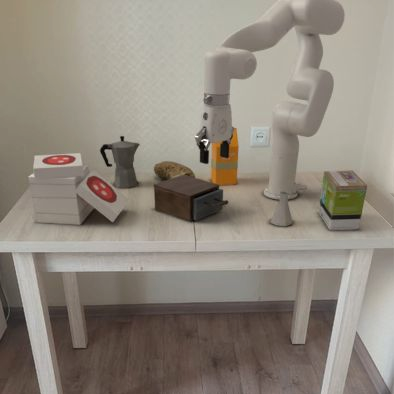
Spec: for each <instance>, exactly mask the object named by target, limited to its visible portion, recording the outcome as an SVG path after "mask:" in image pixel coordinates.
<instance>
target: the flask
mask: <svg viewBox="0 0 394 394" xmlns="http://www.w3.org/2000/svg"><path fill="white" fill-rule="evenodd" d="M289 193H290V192H287V191H281V192H280V200H279V201H278V204H277V206H276V209H275V211H274V213H273V215H272V217H271V219H270V224H272V225H275V226H278V227H287V226H290V225H292V223H293V219H292V214H291V209H290V205H289V200H288V196H289Z"/></svg>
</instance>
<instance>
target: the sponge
mask: <svg viewBox="0 0 394 394" xmlns="http://www.w3.org/2000/svg"><path fill="white" fill-rule="evenodd" d="M153 171H154V172H153V173H154V174H155V175H156V176H157V177H159V178H161V179H164V180H169V179H172V178H175V177H178V176H181V175H187V176H190V177H194V178H196V174H195V173H194V171H193V170H192V169H191V168H190V167H188V166H186V165H184V164H181V163H178V162H175V161H168V160H167V161H166V160H164V161H160V162H158V163H155V165H153Z"/></svg>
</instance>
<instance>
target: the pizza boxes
mask: <svg viewBox="0 0 394 394" xmlns="http://www.w3.org/2000/svg"><path fill="white" fill-rule="evenodd" d="M33 157H34V158H33V159H34V160H33V168H32V169H33V173H31V174H29V176H27V179H28V184H29V188H30V194H31V200H32V204H33V209H34V214H35V219H36V223H40V224H41V223H42V224H59V225H77V226H80V225H82V224H83V222H84V221H85V220H86V219H87V217H88V216H89V215H90V214H91V213H92V211H93V210H94V209H95V210H96V211H98V212H99V213H100V214H101V215H103V216H104V217H105V218H106V219H108V220H109V221H110V222H111V223H114V221H115V220H116V219H117V217H118V216H119V215H120V213H121V212H122V210H123V209H124V208H125V206H127V205H126V204H127V203H128V202H129V201H130V199H129V198H128V197H127V196H126V195H124V193H122V192H121V191H119V190H118V189H117V187H116V186H115V187H114V186H113V184H111V183H110V182H109V181H108V180H106V179H105V178H104V177H103V176H102V175H101V174H99V173H98V172H97V171H96V170H92V171H91V172H90V168H89V165H88V164H83V161H82V154H81V152H75V153H59V154H57V153H56V154H55V153H54V154H42V155H41V154H40V155H38V154H37V155H34V156H33Z"/></svg>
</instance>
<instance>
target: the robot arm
mask: <svg viewBox="0 0 394 394" xmlns="http://www.w3.org/2000/svg"><path fill="white" fill-rule="evenodd" d="M344 22H345V9H344V7H343V5H342V4H341V3H340V2H339V1H337V0H277V1H275V2H274V3H273V4H272V5H271V6H270V8H268V9H267V11H265V13H263V15H262V16H261V17H259V18H258V19H257V20H254V21H252V22H251V23H249V24H247V25H245V26H243V27H241V28H240V29H237V30H236V31H234V32H232V33H231V34H229V35H228V36H227V37H226V38H225V39H224V40H222V41H221V43H220V44H219V45H218V46H217V47H216V48H215V50H209V51H207V52H206V53H205V56H204V77H203V78H204V80H203V81H204V83H203V84H204V85H203V106H202V111H201V118H200V129H199V131H198V132H197V133H196V134H195V136H194V139H195V142H196V146H197V147H198V150H199V163H200V164H205V165H208V164H209V163H210V150H209V147H210V145H211V144H212V143H218V142H222V143H221V145H220V156H221V157H224V158H229V145H230V144H231V139H232V137H233V133H234V130H235V128H236V127H234V126H233V118H232V117H233V115H232V114H233V113H232V107H231V103H230V98H231V97H230V96H231V95H230V94H231V80H241V81H242V80H247V79H249V78H251V77H252V76H253V75H254V74H255V72H256V70H257V65H258V62H257V58H256V56H255V55H254V53H256V52H261V51H265V50H268V49H270V48H273V47H275V46H276V45H277V44H279V42H280V41H281V40H282V39H283V38H284V37H285V36H286V35H288V33H289V32H290V31H291V30H292V29H293V28H294V30H295V34H296V38H297V52H296V54H295V58H294V61H293V64H292V67H291V70H290V73H289V76H288V79H287V83H286V93H287V95H288V97H290V98H293V99H297V100H301V101H307V104H305V103H300V102H296V101H295V102H294V101H288V100H287V101H282V102H279V103H277V104H276V106H275V107H274V108H273V111H272V114H271V127H272V128H271V129H272V144H271V156H270V165H269V166H270V167H269V177H268V187H266V188H265V189H264V190H263V195H264V196H265V197H267V198H269V199H273V200H279V201H280V192H281V191H287V192H290V193H289V196H288V201H289V200H294V199H295V198H297V197H298V196H299V195H298V194H299V193H298V192H299V191H308V185H307V184H303V183H297V182H296V175H297V167H298V159H299V153H300V141H299V136H300V137H304V138H305V137H306V138H311V137H313V136H315V135H316V134H318V131H319V130H320V128H321V126H322V122H323V120H324V118H325V114H326V112H327V109H328V106H329V104H330V101H331V99H332V95H333V92H334V85H335V83H334V76H333V74H332V73H331V72H330V71H329V70H326V69H321V68H320V66H321V62H322V59H323V56H324V47H323V43H322V40H321V37H320V35H323V36H333V35H335V34H337V33H338V32H340V30H341V28H342V27H343V25H344Z"/></svg>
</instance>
